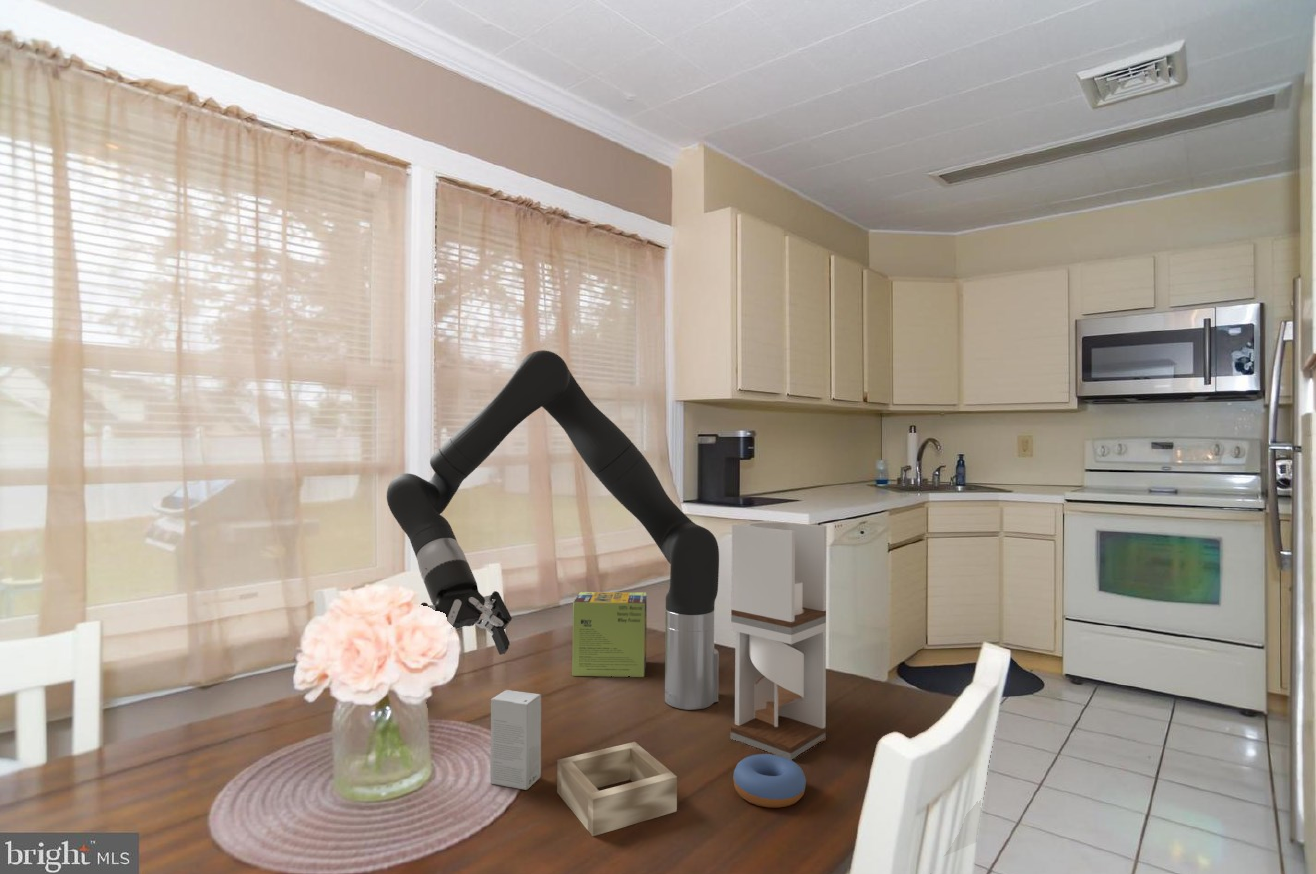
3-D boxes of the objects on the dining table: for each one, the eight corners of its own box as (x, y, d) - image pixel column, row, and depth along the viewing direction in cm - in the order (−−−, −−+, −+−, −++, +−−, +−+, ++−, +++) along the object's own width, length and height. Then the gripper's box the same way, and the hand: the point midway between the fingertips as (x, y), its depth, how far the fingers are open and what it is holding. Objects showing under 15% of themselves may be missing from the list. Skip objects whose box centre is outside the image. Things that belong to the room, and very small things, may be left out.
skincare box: (541, 777, 98) (542, 693, 98) (526, 791, 94) (527, 704, 94) (505, 770, 100) (506, 688, 100) (488, 784, 96) (489, 698, 96)
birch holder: (634, 772, 99) (634, 741, 99) (676, 811, 89) (677, 776, 89) (557, 792, 93) (557, 759, 93) (592, 836, 83) (593, 799, 83)
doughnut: (790, 818, 87) (790, 781, 88) (720, 801, 92) (720, 765, 93) (816, 793, 95) (815, 759, 96) (751, 778, 101) (750, 746, 101)
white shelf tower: (730, 739, 111) (731, 525, 112) (766, 720, 119) (768, 520, 120) (790, 761, 103) (791, 531, 104) (825, 739, 111) (826, 526, 112)
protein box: (645, 677, 141) (645, 602, 141) (571, 676, 141) (572, 601, 141) (646, 661, 151) (647, 591, 151) (577, 660, 151) (578, 591, 152)
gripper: (411, 563, 106) (445, 653, 97) (492, 553, 116) (529, 634, 107) (396, 591, 109) (428, 681, 101) (476, 580, 119) (511, 660, 111)
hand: (480, 657), depth 104 cm, fingers open, 8 cm apart
